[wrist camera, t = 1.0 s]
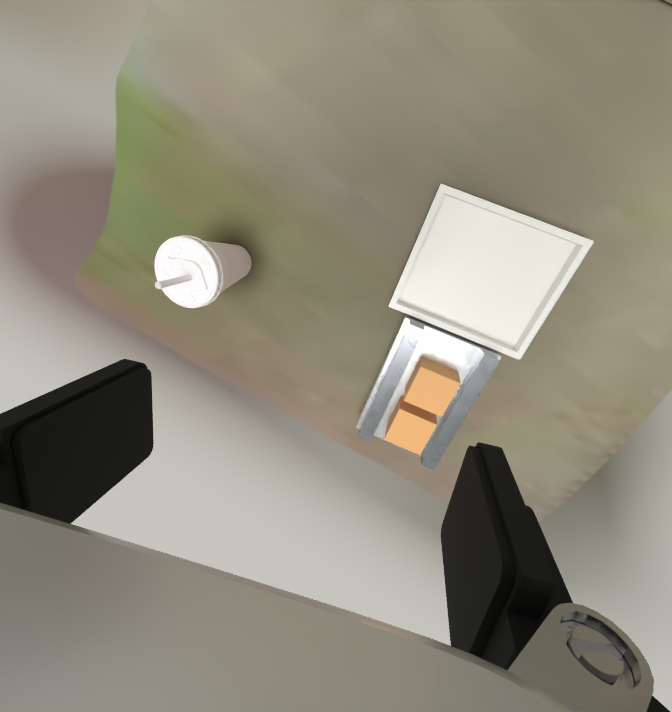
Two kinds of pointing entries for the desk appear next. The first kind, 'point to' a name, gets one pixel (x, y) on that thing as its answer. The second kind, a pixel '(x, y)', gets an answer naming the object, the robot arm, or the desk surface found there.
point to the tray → (486, 271)
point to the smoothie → (198, 269)
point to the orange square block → (431, 386)
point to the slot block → (398, 368)
